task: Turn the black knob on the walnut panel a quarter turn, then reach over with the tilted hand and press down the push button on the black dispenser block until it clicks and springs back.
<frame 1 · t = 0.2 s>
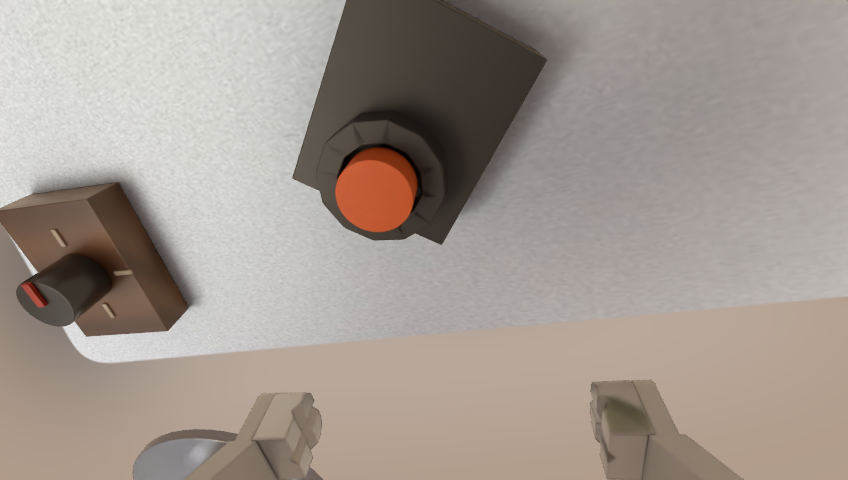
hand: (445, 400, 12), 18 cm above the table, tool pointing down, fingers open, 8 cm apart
push button: (377, 189, 22), point 7 cm above the table, slide at 0.1 cm
walnut panel: (114, 254, 35), on the table
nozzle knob: (64, 291, 30), point 5 cm above the table, hinge at 0.0°
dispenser: (415, 108, 26), on the table
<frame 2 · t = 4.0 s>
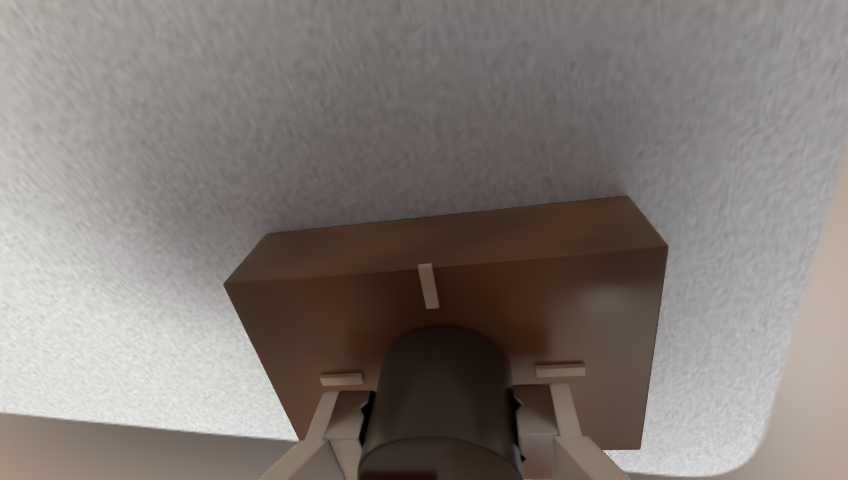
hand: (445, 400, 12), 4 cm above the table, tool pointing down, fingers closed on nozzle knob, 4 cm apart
walnut panel: (450, 310, 16), on the table
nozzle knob: (442, 429, 11), point 5 cm above the table, hinge at -0.2°, touching gripper
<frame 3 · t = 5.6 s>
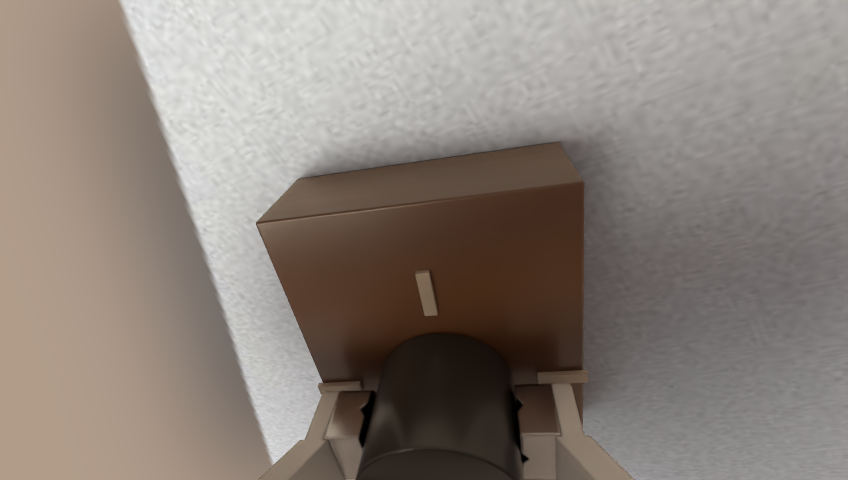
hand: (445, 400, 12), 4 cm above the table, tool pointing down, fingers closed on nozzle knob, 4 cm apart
walnut panel: (450, 316, 15), on the table
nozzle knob: (442, 438, 11), point 5 cm above the table, hinge at 84.5°, touching gripper
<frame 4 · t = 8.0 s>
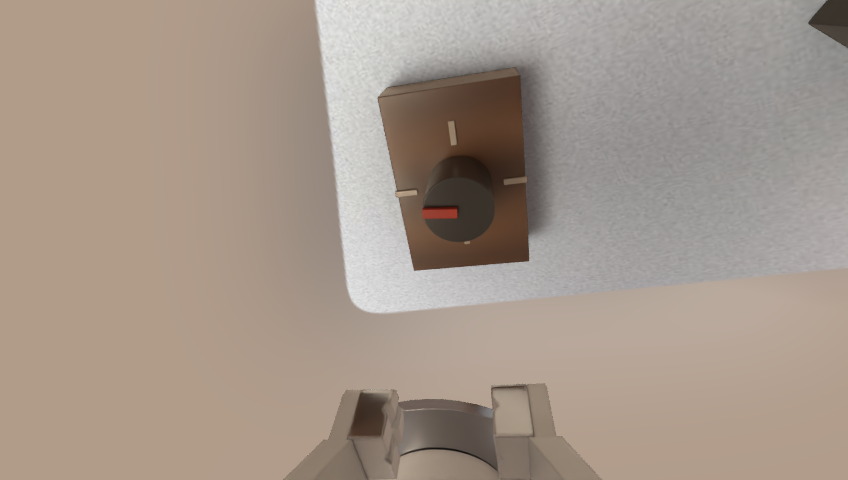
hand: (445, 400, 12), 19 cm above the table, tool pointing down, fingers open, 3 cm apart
walnut panel: (460, 169, 29), on the table
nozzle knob: (458, 199, 24), point 5 cm above the table, hinge at 84.4°
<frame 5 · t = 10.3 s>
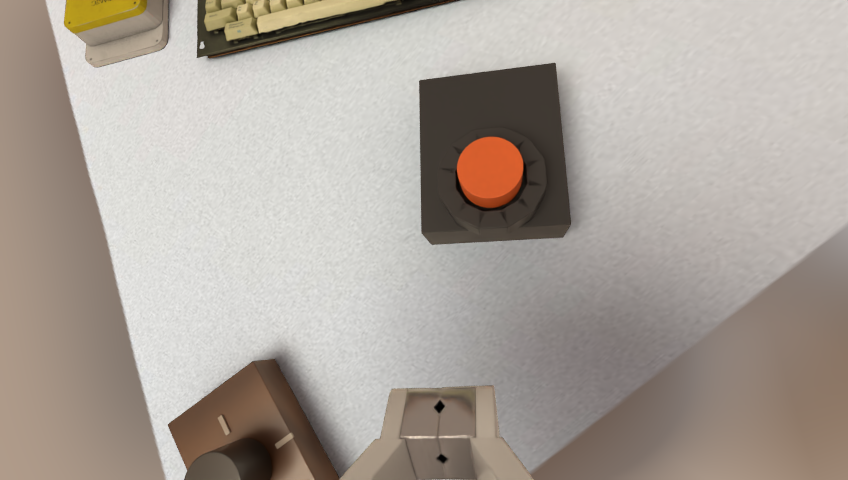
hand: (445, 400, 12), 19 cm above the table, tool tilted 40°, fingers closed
push button: (490, 173, 26), point 7 cm above the table, slide at 0.1 cm
emergency button: (132, 0, 45), on the table
walnut panel: (269, 456, 32), on the table
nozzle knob: (228, 478, 27), point 5 cm above the table, hinge at 84.4°
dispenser: (491, 168, 33), on the table
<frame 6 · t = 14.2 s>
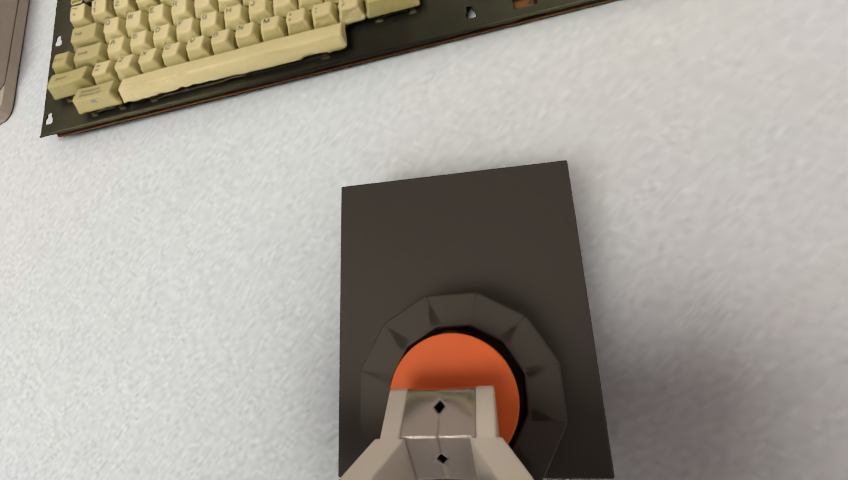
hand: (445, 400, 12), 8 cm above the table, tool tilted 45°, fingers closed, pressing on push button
push button: (456, 396, 14), point 6 cm above the table, slide at -0.2 cm, touching gripper
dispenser: (466, 319, 20), on the table
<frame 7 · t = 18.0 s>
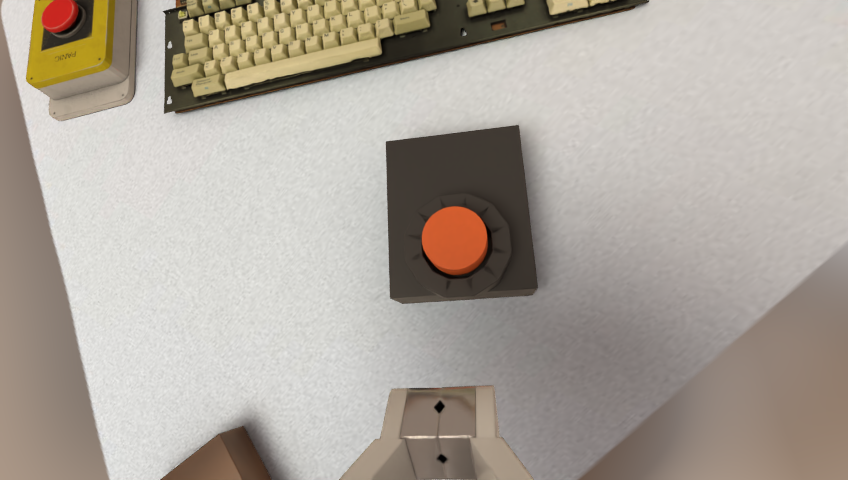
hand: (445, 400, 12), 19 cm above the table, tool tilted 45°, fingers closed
push button: (455, 241, 26), point 7 cm above the table, slide at 0.1 cm
keyboard: (384, 6, 40), on the table
emergency button: (99, 53, 45), on the table
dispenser: (460, 224, 33), on the table
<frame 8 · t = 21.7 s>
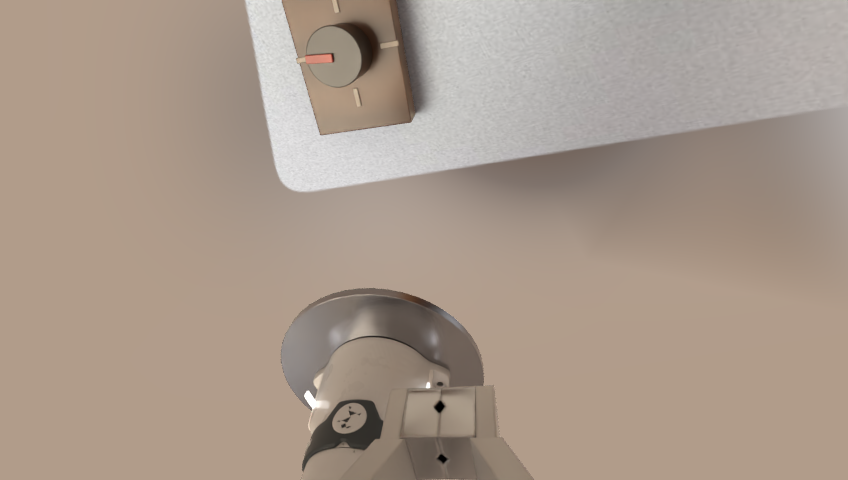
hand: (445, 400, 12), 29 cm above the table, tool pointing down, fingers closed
walnut panel: (356, 48, 35), on the table
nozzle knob: (340, 54, 30), point 5 cm above the table, hinge at 84.4°
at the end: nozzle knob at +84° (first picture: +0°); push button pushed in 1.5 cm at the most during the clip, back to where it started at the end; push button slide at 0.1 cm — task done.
